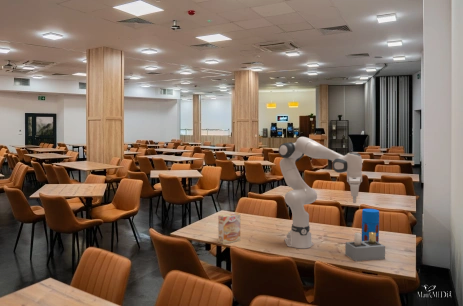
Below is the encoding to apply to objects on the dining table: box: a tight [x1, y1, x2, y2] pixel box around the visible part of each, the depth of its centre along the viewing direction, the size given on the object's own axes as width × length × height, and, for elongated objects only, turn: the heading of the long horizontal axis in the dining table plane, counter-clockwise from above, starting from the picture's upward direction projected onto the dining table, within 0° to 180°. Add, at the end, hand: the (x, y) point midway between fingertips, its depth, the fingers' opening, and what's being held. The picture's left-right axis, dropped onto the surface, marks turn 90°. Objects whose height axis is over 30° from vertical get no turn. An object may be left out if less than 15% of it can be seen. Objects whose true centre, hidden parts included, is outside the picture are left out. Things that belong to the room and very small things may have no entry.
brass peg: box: [369, 232, 376, 244], centre depth 232 cm, size 4×4×8 cm
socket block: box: [344, 241, 386, 262], centre depth 232 cm, size 20×12×8 cm, turn 101°
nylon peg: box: [353, 232, 362, 245], centre depth 230 cm, size 4×4×8 cm
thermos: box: [361, 208, 380, 243], centre depth 250 cm, size 11×11×25 cm
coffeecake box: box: [217, 212, 242, 245], centre depth 263 cm, size 15×7×20 cm, turn 126°
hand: (354, 201), depth 227 cm, fingers open, 8 cm apart
